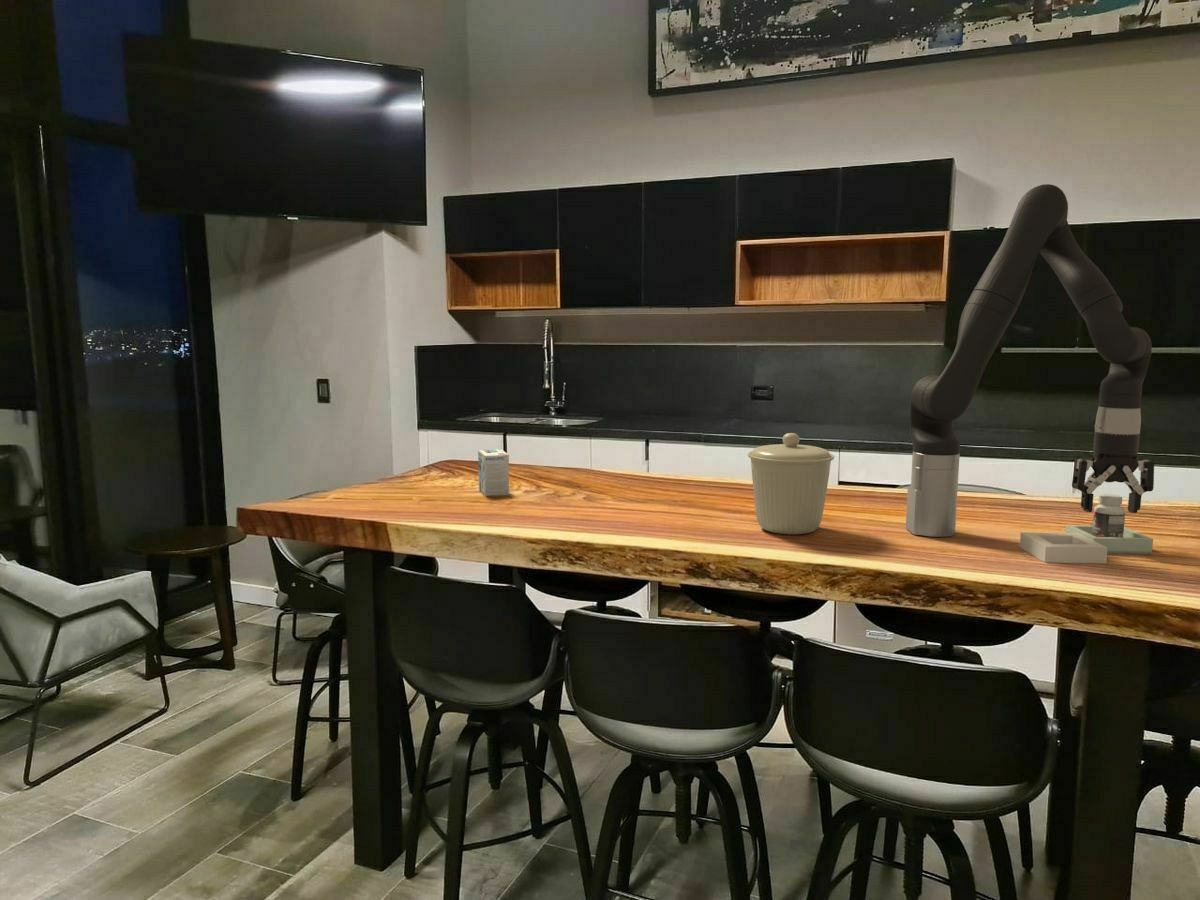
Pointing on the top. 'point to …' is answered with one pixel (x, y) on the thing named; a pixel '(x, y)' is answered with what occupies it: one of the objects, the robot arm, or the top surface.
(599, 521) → the top surface
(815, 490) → the canister
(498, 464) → the light bulb box
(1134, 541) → the parts tray
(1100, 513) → the pill bottle
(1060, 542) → the socket block
